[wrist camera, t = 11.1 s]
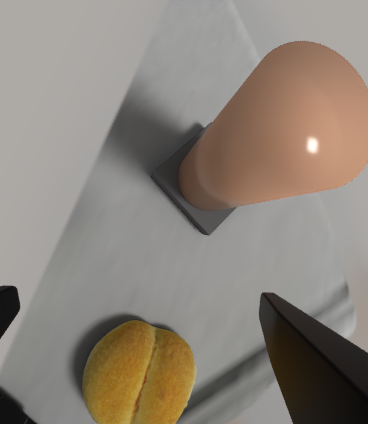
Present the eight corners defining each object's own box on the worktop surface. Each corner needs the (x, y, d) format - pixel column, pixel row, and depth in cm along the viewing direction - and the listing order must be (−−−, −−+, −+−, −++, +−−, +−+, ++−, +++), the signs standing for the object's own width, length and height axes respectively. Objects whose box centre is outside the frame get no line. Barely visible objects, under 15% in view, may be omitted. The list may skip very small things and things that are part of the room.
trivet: (204, 234, 22) (209, 235, 21) (151, 176, 21) (152, 172, 20) (253, 184, 24) (261, 181, 23) (205, 128, 23) (211, 122, 22)
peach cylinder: (216, 224, 21) (335, 220, 9) (164, 184, 20) (217, 119, 8) (250, 174, 22) (396, 110, 10) (202, 133, 21) (298, 10, 9)
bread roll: (108, 306, 20) (104, 325, 16) (199, 336, 22) (215, 359, 18) (66, 406, 19) (50, 452, 15) (166, 429, 21) (176, 475, 17)
